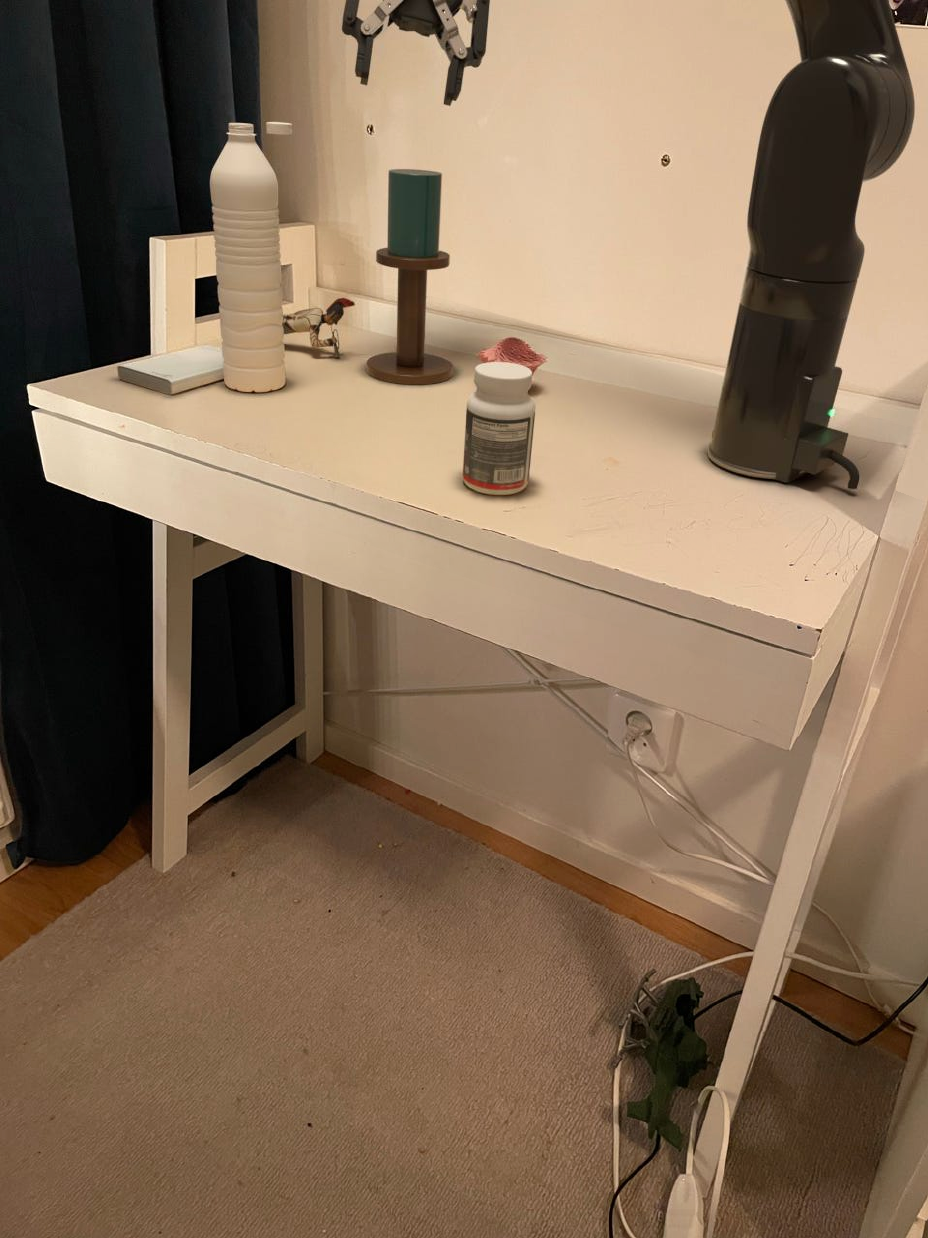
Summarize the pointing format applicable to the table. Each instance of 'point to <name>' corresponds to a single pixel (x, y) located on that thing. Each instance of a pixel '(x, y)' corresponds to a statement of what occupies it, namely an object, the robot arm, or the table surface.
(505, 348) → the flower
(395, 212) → the cylinder
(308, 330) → the figurine
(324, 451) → the table surface
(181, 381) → the hard drive
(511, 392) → the pill bottle
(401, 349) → the pedestal stand
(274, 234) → the water bottle
